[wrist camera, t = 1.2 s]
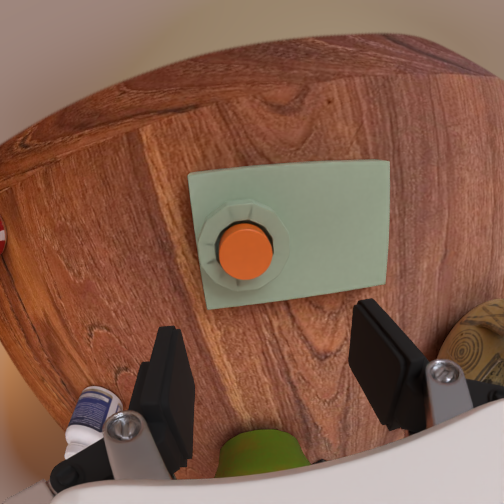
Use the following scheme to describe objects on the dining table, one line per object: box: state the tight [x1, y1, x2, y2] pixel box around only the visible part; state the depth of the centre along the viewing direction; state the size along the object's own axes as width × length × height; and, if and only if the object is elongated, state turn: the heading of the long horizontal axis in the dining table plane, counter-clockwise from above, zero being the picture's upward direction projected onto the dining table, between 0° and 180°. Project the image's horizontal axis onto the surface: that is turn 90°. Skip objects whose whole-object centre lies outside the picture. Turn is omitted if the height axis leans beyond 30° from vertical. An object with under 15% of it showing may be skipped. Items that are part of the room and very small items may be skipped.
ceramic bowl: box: [437, 299, 504, 386], centre depth 26 cm, size 22×17×15 cm
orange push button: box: [219, 223, 273, 280], centre depth 22 cm, size 4×4×2 cm
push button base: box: [187, 159, 390, 310], centre depth 24 cm, size 16×11×4 cm
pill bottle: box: [64, 386, 123, 459], centre depth 26 cm, size 5×5×10 cm
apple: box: [214, 429, 311, 478], centre depth 30 cm, size 12×12×11 cm
